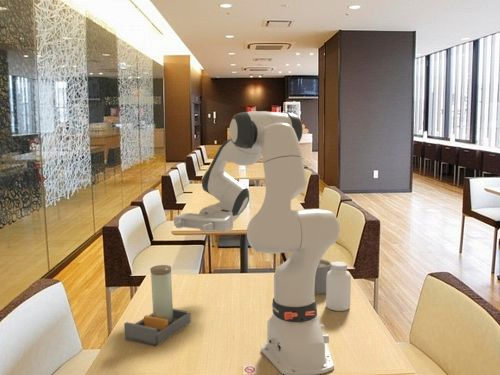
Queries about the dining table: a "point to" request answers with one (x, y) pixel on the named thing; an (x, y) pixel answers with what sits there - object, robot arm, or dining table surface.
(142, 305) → the dining table surface
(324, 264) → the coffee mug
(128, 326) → the gray open tray
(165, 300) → the jar
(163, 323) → the block
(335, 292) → the pill bottle
